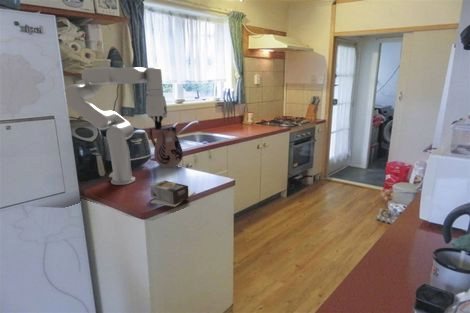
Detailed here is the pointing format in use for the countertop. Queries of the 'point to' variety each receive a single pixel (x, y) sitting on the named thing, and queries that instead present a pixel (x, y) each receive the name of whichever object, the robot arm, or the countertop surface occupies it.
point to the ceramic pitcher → (167, 146)
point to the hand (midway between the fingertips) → (158, 128)
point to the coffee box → (169, 192)
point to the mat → (170, 203)
